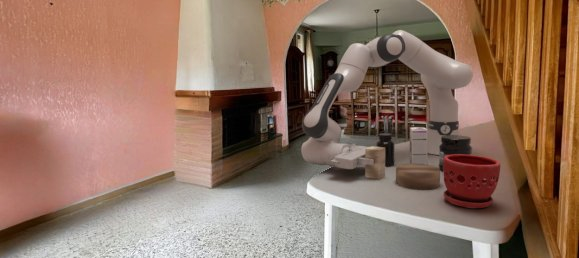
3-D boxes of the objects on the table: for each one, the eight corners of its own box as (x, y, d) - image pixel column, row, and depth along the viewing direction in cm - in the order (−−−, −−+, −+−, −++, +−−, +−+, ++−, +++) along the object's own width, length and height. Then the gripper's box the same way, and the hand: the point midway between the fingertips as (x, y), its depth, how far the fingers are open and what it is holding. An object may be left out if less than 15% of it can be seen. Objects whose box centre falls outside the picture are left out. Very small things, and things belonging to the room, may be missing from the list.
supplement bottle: (381, 161, 137) (382, 132, 135) (397, 164, 132) (398, 133, 131) (372, 164, 132) (372, 134, 131) (388, 167, 128) (389, 136, 126)
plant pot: (473, 215, 82) (476, 167, 80) (431, 199, 93) (432, 156, 92) (509, 206, 87) (512, 160, 85) (464, 191, 99) (466, 151, 97)
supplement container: (476, 170, 121) (478, 136, 119) (462, 175, 114) (464, 140, 113) (447, 164, 129) (448, 133, 127) (432, 170, 123) (433, 137, 121)
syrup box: (427, 167, 126) (428, 129, 124) (410, 167, 127) (411, 129, 125) (424, 164, 131) (425, 127, 129) (408, 163, 132) (409, 127, 130)
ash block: (365, 177, 116) (365, 148, 114) (371, 174, 120) (371, 146, 118) (379, 179, 113) (379, 150, 111) (385, 176, 117) (385, 147, 115)
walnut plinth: (395, 177, 116) (395, 162, 115) (437, 179, 112) (437, 164, 111) (396, 188, 104) (396, 173, 103) (442, 191, 100) (442, 175, 99)
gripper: (326, 152, 114) (365, 156, 106) (353, 142, 131) (388, 145, 122) (326, 170, 115) (365, 176, 107) (353, 158, 131) (388, 162, 123)
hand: (377, 159), depth 115 cm, fingers closed on ash block, 5 cm apart
